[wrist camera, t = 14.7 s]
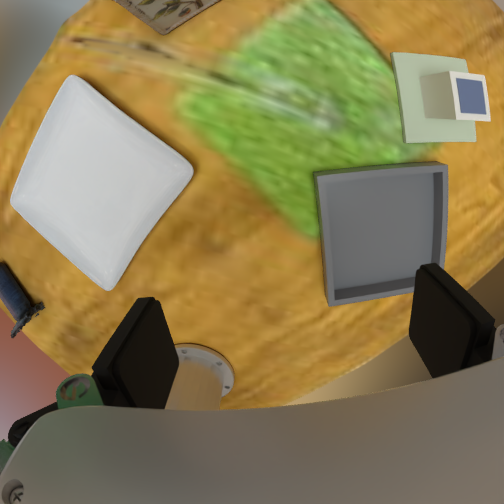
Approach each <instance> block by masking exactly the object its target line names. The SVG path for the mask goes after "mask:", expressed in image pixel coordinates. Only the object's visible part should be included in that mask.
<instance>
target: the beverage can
mask: <svg viewBox="0 0 504 504" xmlns="http://www.w3.org/2000/svg"><path fill="white" fill-rule="evenodd" d="M0 298H1V300H2V301H3V303H4V304H5V306H6V307H7V309H8V310H9V311H10V313H11V314H12V316H13V317H14V319H15V320H16V321H17V323H16V325H15V327H14V328H13V330H12V332H11V333H12V334H11V338H14V337H15V336H16V334H17V333H18V332H20V331H19V330H20V329H21V330H22V327H23V326H25V324H26V323H27V322H30V320H31V316H32V315H33V314H34V313H36V312H38V311H39V310H43V309H44V308H45V307H44V305H43V303H42V302H41V303H40V304H36V306H35V307H34V306H33V307H31V306H30V301H29V300H28V299H27V297H26V296H25V294H24V293H23V291H22V290H21V288H20V287H19V285H18V284H17V282H16V280H15V279H14V277H13V276H12V274H11V273H10V271H9V270H8V268H7V266H6V265H5V264H3V263H1V262H0ZM42 305H43V306H42ZM38 315H39V314H38V313H37V315H36V316H38ZM36 316H35V317H36Z"/></svg>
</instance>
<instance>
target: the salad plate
mask: <svg viewBox="0 0 504 504" xmlns="http://www.w3.org/2000/svg"><path fill="white" fill-rule="evenodd" d="M193 174H194V170H193V167H192V165H191V164H190V162H189V161H188V160H186V159H185V158H184V157H183V156H182V155H181V154H179V153H178V152H177V151H175V150H174V149H173V148H171V147H170V146H169V145H167V144H166V143H164V142H163V141H162V140H160V139H159V138H158V137H156V136H155V135H153V134H152V133H151V132H149V131H148V130H147V129H145V128H144V127H143V126H141V125H140V124H139V123H137V122H136V121H135V120H133V119H132V118H130V117H129V116H128V115H126V114H125V113H124V112H123V111H121V110H120V109H119V108H117V107H116V106H115V105H114V104H112V103H111V102H110V101H109V100H107V99H106V98H105V97H104V96H103V95H101V94H100V93H99V92H98V91H97V90H95V89H94V88H93V87H92V86H91V85H90V84H88V83H87V82H86V81H85V80H83V79H82V78H80V77H78V76H76V75H70V76H68V77H67V79H66V80H65V81H64V83H63V84H62V86H61V88H60V89H59V91H58V93H57V95H56V96H55V98H54V100H53V102H52V104H51V106H50V108H49V109H48V111H47V113H46V115H45V117H44V119H43V121H42V124H41V126H40V128H39V130H38V132H37V134H36V136H35V138H34V140H33V143H32V145H31V147H30V149H29V152H28V154H27V156H26V159H25V161H24V163H23V166H22V168H21V171H20V173H19V176H18V178H17V181H16V183H15V186H14V189H13V192H12V195H11V198H10V203H11V205H12V207H13V208H14V209H15V210H16V211H17V212H18V213H19V214H20V215H21V216H22V217H23V218H24V219H25V220H26V221H27V222H28V223H29V224H30V225H31V226H33V227H34V228H35V229H36V230H37V231H38V232H39V233H40V234H41V235H42V236H43V237H44V238H45V239H46V240H48V241H49V242H50V243H51V244H52V245H53V246H54V247H55V248H56V249H57V250H59V251H60V252H61V253H62V254H63V255H64V256H65V257H66V258H67V259H69V260H70V261H71V262H72V263H73V264H74V265H75V266H76V267H78V268H79V269H80V270H81V271H82V272H83V273H84V274H86V275H87V276H88V277H89V278H90V279H91V280H93V281H94V282H95V283H96V284H98V285H99V286H100V287H101V288H103V289H104V290H106V291H110V290H112V289H113V288H114V287H115V285H116V284H117V282H118V281H119V279H120V278H121V276H122V274H123V273H124V271H125V270H126V268H127V266H128V264H129V263H130V261H131V259H132V258H133V256H134V255H135V253H136V251H137V250H138V248H139V247H140V245H141V244H142V242H143V241H144V239H145V238H146V237H147V235H148V234H149V232H150V231H151V230H152V228H153V227H154V226H155V224H156V223H157V222H158V220H159V219H160V218H161V216H162V215H163V214H164V213H165V211H166V210H167V209H168V208H169V206H170V205H171V204H172V203H173V201H174V200H175V199H176V198H177V197H178V195H179V194H180V193H181V192H182V190H183V189H184V188H185V187H186V185H187V184H188V183H189V181H190V180H191V178H192V176H193Z"/></svg>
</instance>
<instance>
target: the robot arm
mask: <svg viewBox="0 0 504 504" xmlns="http://www.w3.org/2000/svg"><path fill="white" fill-rule="evenodd" d="M494 322H495V319H494V318H493V317H492V316H491V315H490V314H489V313H488V312H487V311H486V310H485V309H484V308H483V307H482V306H481V305H480V304H479V303H478V302H477V301H476V300H475V299H474V298H473V297H472V296H471V295H470V294H469V293H468V292H467V291H466V290H465V289H464V288H463V287H462V286H461V285H460V284H459V283H457V282H456V281H455V280H454V279H453V278H452V277H451V276H450V275H449V274H448V273H447V272H446V271H444V270H443V269H442V268H441V267H440V266H439V265H438V264H437V263H429V264H423V265H421V266H420V268H419V269H417V270H416V274H415V285H414V295H413V303H412V311H411V319H410V326H409V337H410V339H411V341H412V343H413V345H414V346H415V348H416V350H417V351H418V353H419V355H420V357H421V358H422V360H423V362H424V364H425V365H426V367H427V369H428V370H429V372H430V374H431V376H432V378H433V379H429V380H425V381H421V382H418V383H414V384H410V385H406V386H402V387H397V388H393V389H389V390H384V391H379V392H374V393H369V394H364V395H359V396H353V397H348V398H342V399H335V400H329V401H322V402H314V403H306V404H298V405H288V406H278V407H266V408H250V409H228V410H219V407H220V402H221V397H223V396H225V395H226V394H228V393H229V392H230V390H231V389H232V387H233V384H234V371H233V368H232V367H231V365H230V363H229V362H228V361H227V360H226V359H225V358H224V357H223V356H221V355H220V354H219V353H217V352H215V351H214V350H212V349H209V348H207V347H204V346H200V345H195V344H179V345H174V343H173V340H172V337H171V334H170V331H169V328H168V325H167V322H166V319H165V316H164V313H163V310H162V307H161V304H160V302H159V301H158V300H155V298H153V297H145V298H138V299H137V300H136V302H135V303H134V304H133V306H132V307H131V309H130V310H129V312H128V313H127V315H126V316H125V317H124V319H123V320H122V322H121V323H120V325H119V326H118V328H117V329H116V331H115V332H114V334H113V335H112V337H111V338H110V340H109V341H108V343H107V344H106V346H105V347H104V349H103V350H102V352H101V353H100V355H99V357H98V358H97V360H96V361H95V363H94V364H93V366H92V369H93V371H94V372H93V374H92V375H91V376H90V375H88V374H76V375H72V376H70V377H68V378H66V379H65V380H64V381H63V382H62V383H61V384H60V385H59V386H58V388H57V391H56V399H57V402H55V403H53V404H51V405H49V406H47V407H44V408H42V409H40V410H38V411H36V412H34V413H32V414H30V415H27V416H25V417H23V418H21V419H19V420H17V421H15V422H14V424H13V425H12V427H11V428H10V430H9V433H8V439H9V441H7V442H6V440H5V439H3V440H2V441H0V504H504V324H503V325H501V326H499V327H498V328H497V329H496V328H495V327H494Z"/></svg>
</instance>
